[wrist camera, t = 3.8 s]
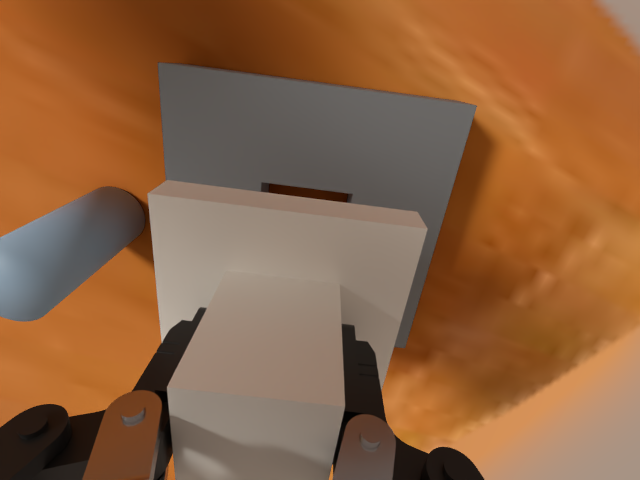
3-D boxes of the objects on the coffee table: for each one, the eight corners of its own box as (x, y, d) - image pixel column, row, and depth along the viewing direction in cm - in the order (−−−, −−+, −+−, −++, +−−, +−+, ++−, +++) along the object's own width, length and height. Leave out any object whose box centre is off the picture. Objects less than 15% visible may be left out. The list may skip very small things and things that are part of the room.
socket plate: (191, 295, 27) (175, 320, 24) (181, 63, 20) (157, 62, 17) (398, 320, 27) (404, 348, 25) (458, 100, 20) (476, 105, 18)
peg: (91, 237, 25) (-24, 315, 17) (81, 182, 23) (-52, 242, 15) (147, 244, 25) (59, 326, 17) (142, 190, 24) (41, 253, 15)
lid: (180, 366, 16) (97, 530, 11) (167, 180, 13) (24, 279, 7) (370, 387, 17) (392, 558, 11) (417, 211, 13) (490, 333, 7)
